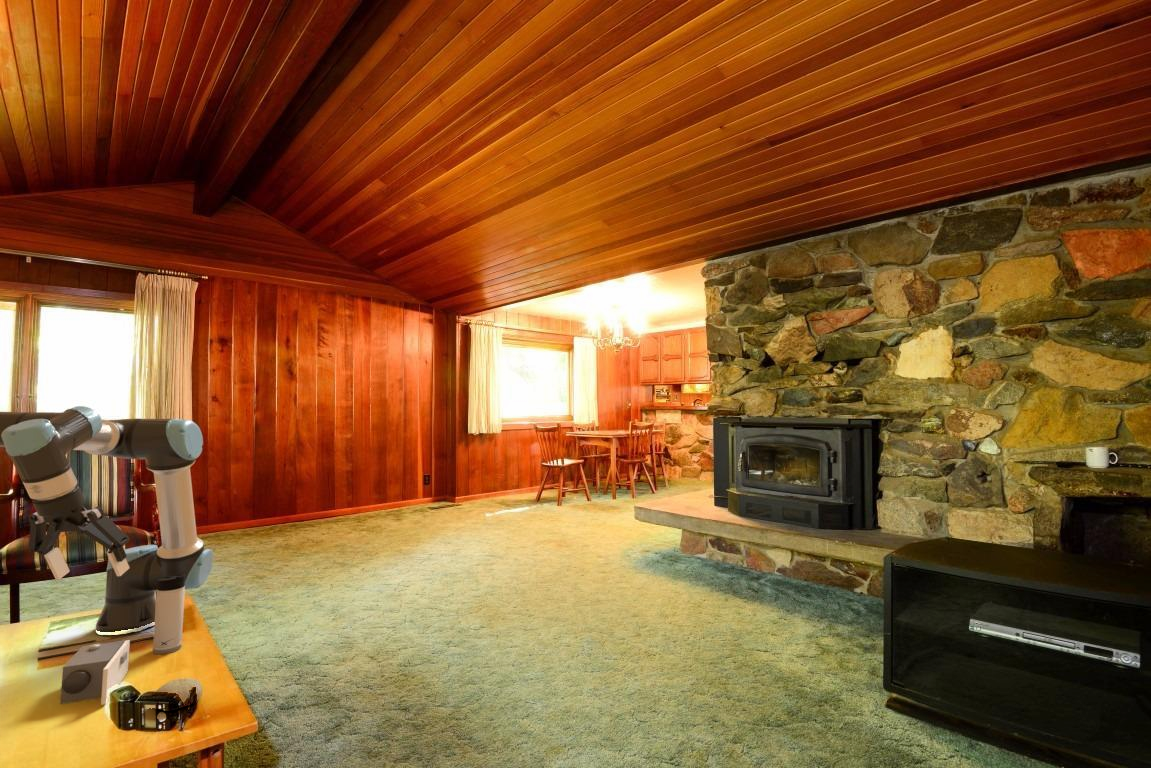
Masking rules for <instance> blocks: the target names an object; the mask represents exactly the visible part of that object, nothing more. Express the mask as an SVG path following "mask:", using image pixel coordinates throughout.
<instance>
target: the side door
mask: <svg viewBox="0 0 1151 768" xmlns="http://www.w3.org/2000/svg"><path fill="white" fill-rule="evenodd" d="M130 640H131V639H127V640H124V643H123V645H122V646H121V647H120V649H119V650H118V651H117V653H116V654H115V655H114V656H113V658H112V659H111V660H110V662H109V663H108V664H107V665H106V667H105V668H104V669H103V682H102V697H100V698H101V699H100V700H101V701H100V705H101V706H102V705H107V703H106V699H107V690H108V689H109V688H111V687H112V686H114V685H116V684H119V683H120V684H121V682H122V681H123V679H124V678H125V676H126V675H127V673H128V672H129V661H130V660H129V659H130V646H131V645H130V644H131V641H130ZM120 684H119V685H120Z"/></svg>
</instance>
